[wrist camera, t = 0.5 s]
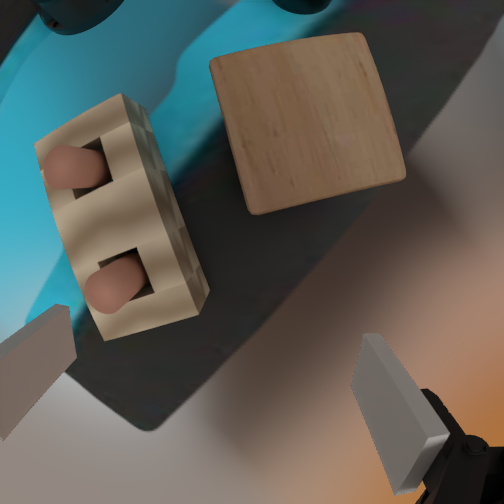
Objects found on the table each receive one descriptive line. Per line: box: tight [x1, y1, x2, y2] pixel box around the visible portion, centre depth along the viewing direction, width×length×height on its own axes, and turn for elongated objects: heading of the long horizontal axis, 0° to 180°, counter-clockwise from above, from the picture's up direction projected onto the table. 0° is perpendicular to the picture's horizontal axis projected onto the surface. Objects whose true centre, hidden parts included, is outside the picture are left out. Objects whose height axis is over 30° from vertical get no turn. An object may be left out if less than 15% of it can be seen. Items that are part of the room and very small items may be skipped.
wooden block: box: [209, 33, 406, 215], centre depth 27 cm, size 10×10×20 cm
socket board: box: [34, 93, 210, 341], centre depth 34 cm, size 24×12×8 cm, turn 19°
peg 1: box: [43, 145, 112, 189], centre depth 28 cm, size 4×4×8 cm
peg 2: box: [85, 253, 149, 314], centre depth 30 cm, size 4×4×8 cm
